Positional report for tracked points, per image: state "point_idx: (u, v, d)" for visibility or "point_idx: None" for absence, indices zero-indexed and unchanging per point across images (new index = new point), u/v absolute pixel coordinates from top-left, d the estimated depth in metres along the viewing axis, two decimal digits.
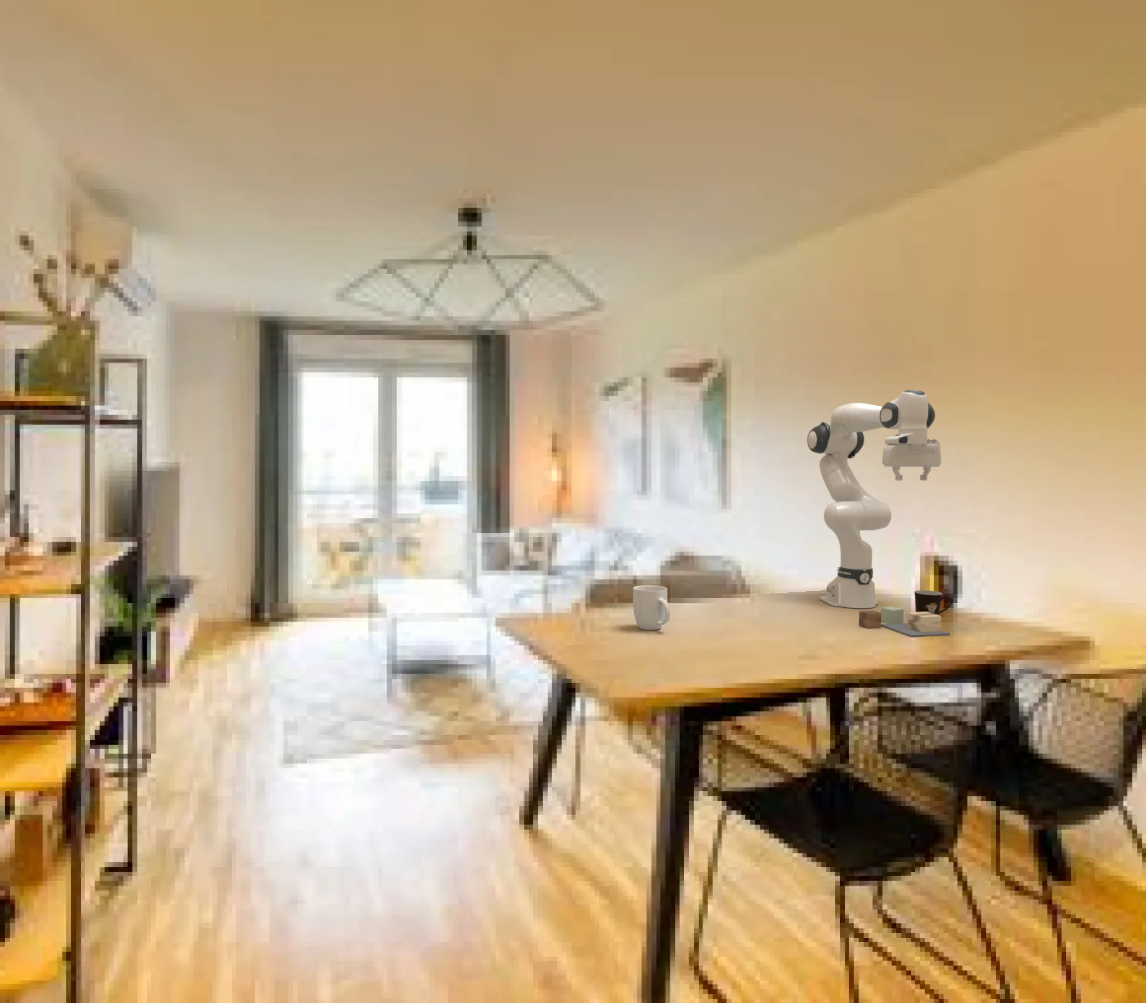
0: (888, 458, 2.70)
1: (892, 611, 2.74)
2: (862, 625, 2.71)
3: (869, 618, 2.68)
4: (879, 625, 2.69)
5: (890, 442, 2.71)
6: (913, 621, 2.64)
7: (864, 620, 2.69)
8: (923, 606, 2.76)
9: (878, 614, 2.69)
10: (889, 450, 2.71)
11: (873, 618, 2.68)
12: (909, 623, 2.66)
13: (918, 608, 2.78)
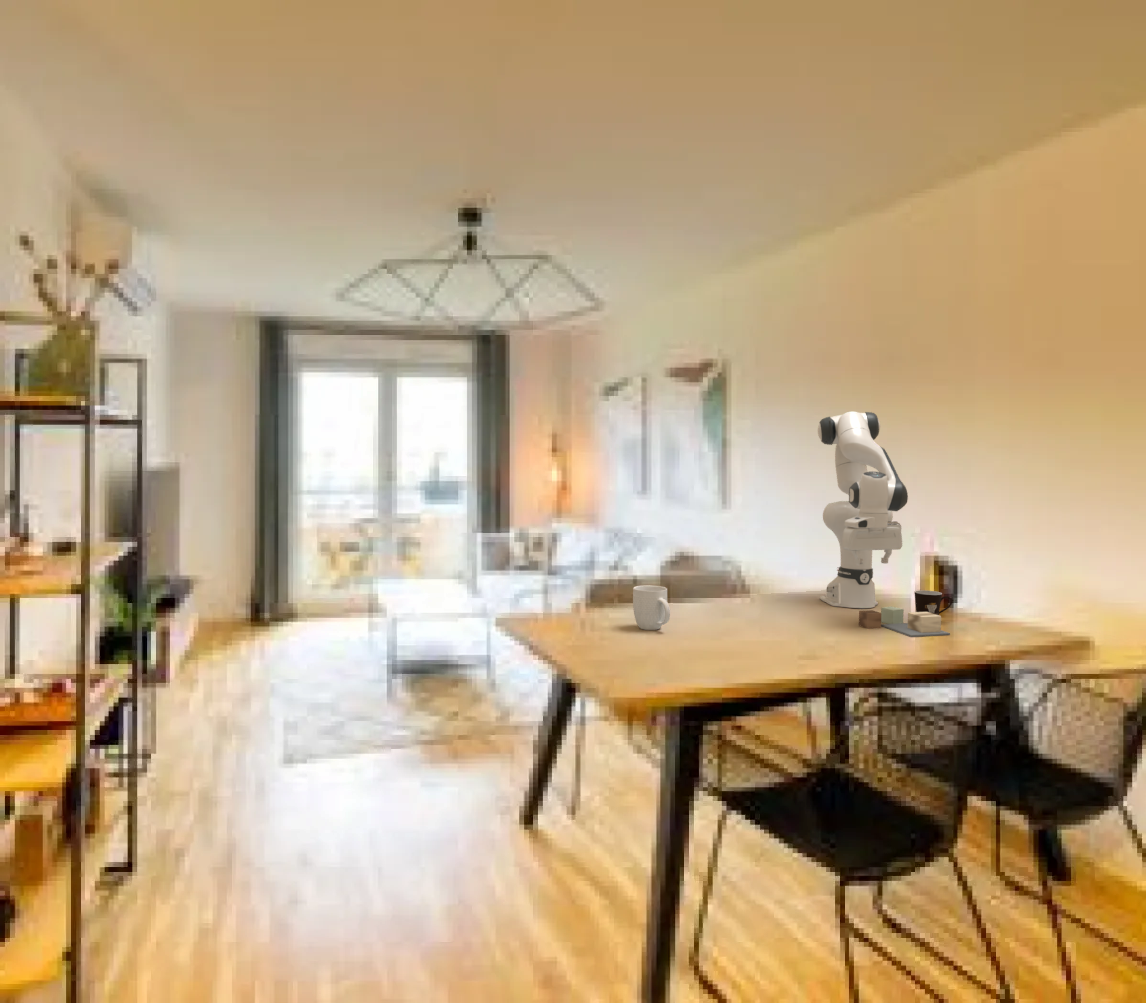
0: (848, 542, 2.65)
1: (892, 611, 2.74)
2: (862, 625, 2.71)
3: (869, 618, 2.68)
4: (879, 625, 2.69)
5: (850, 525, 2.66)
6: (913, 621, 2.64)
7: (864, 620, 2.69)
8: (923, 606, 2.76)
9: (878, 614, 2.69)
10: (849, 534, 2.65)
11: (873, 618, 2.68)
12: (909, 623, 2.66)
13: (918, 608, 2.78)
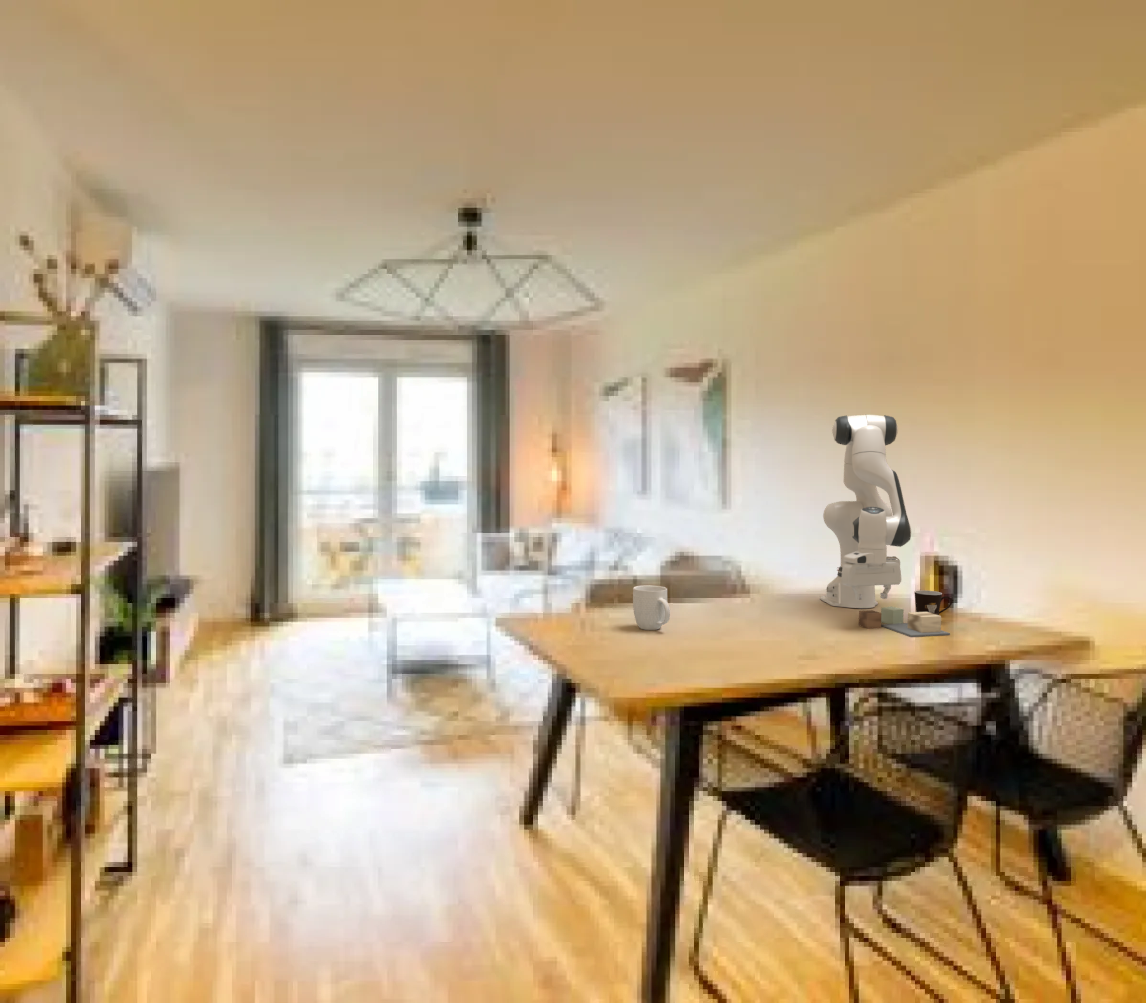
0: (847, 578, 2.66)
1: (892, 611, 2.74)
2: (862, 625, 2.71)
3: (869, 618, 2.68)
4: (879, 625, 2.69)
5: (849, 561, 2.67)
6: (913, 621, 2.64)
7: (864, 620, 2.69)
8: (923, 606, 2.76)
9: (878, 614, 2.69)
10: (848, 569, 2.66)
11: (873, 618, 2.68)
12: (909, 623, 2.66)
13: (918, 608, 2.78)
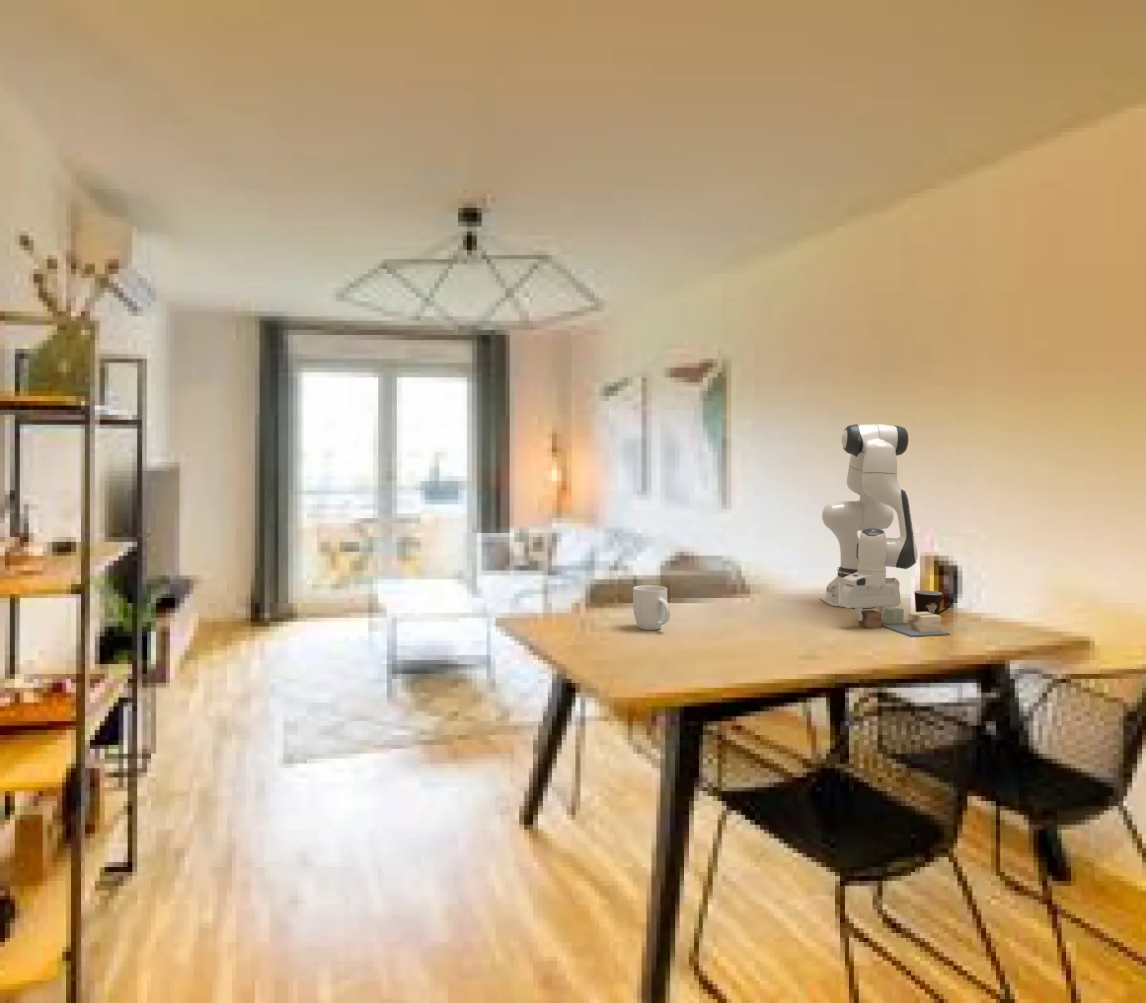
0: (846, 600, 2.66)
1: (892, 611, 2.74)
2: (862, 625, 2.71)
3: (869, 618, 2.68)
4: (879, 625, 2.69)
5: (848, 583, 2.68)
6: (913, 621, 2.64)
7: (865, 620, 2.69)
8: (923, 606, 2.76)
9: (878, 614, 2.69)
10: (847, 591, 2.67)
11: (873, 617, 2.68)
12: (909, 623, 2.66)
13: (918, 608, 2.78)
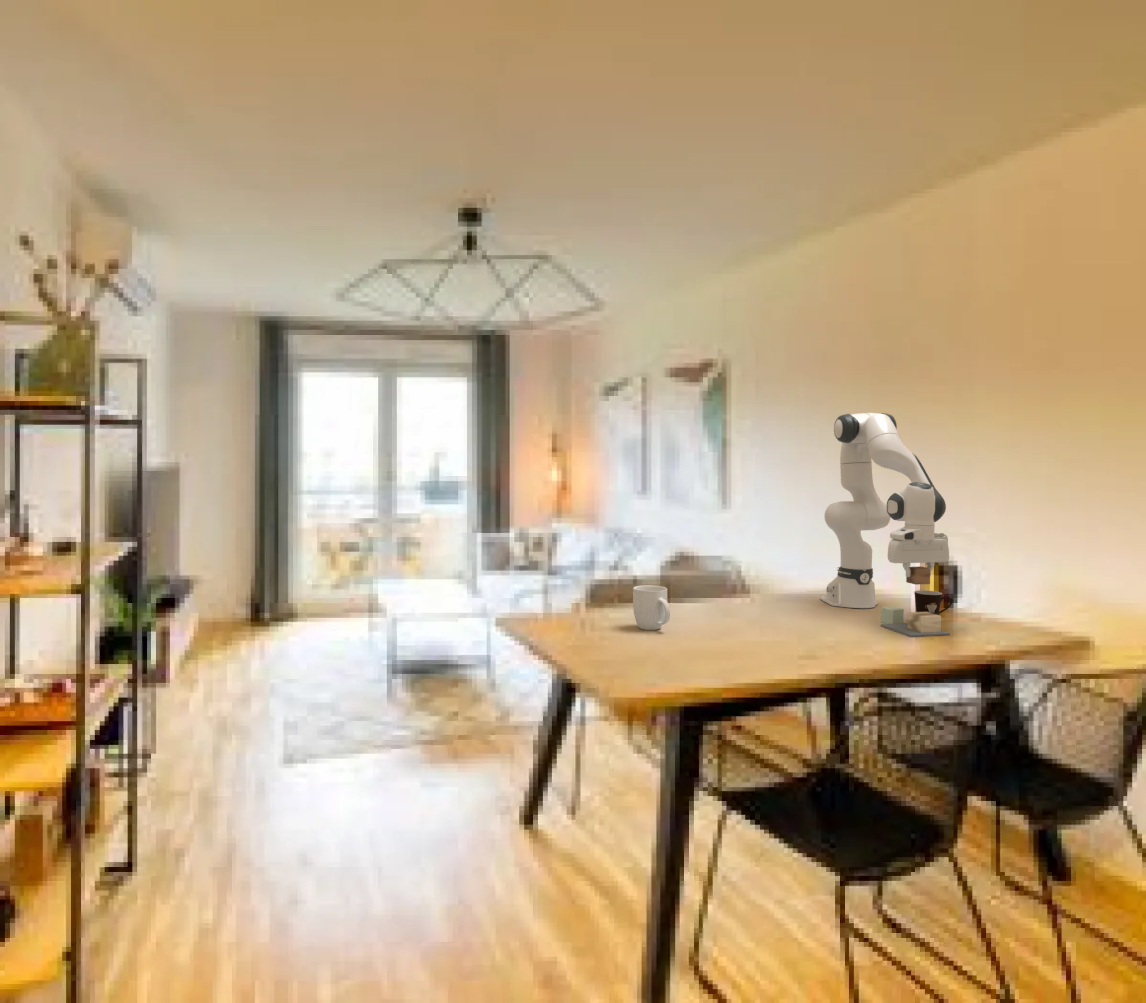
0: (894, 555, 2.59)
1: (892, 611, 2.74)
2: (910, 581, 2.63)
3: (917, 574, 2.61)
4: (928, 581, 2.62)
5: (895, 538, 2.61)
6: (913, 621, 2.64)
7: (913, 576, 2.62)
8: (923, 606, 2.76)
9: (927, 569, 2.61)
10: (894, 546, 2.60)
11: (921, 573, 2.61)
12: (909, 623, 2.66)
13: (918, 608, 2.78)
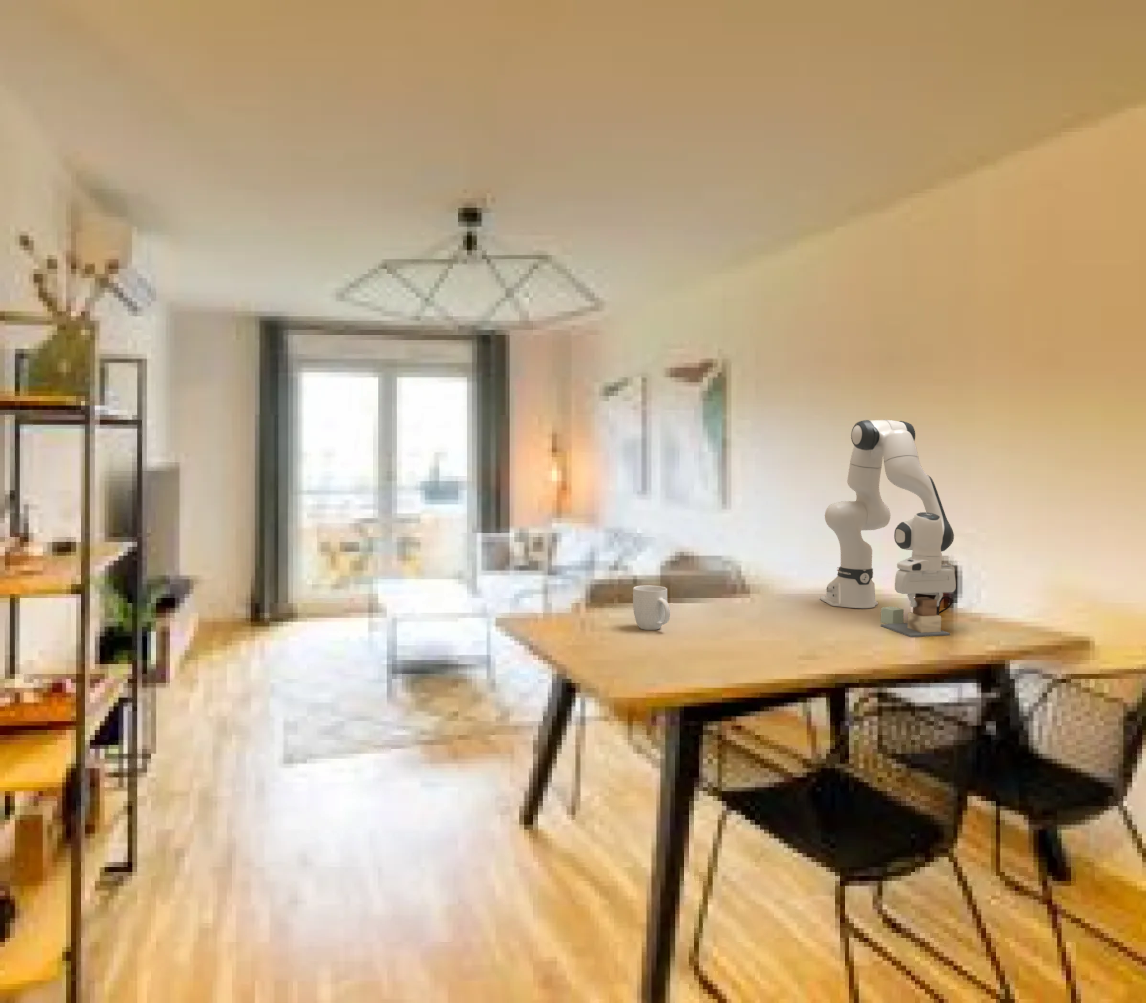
0: (901, 585, 2.59)
1: (892, 611, 2.74)
2: (917, 612, 2.64)
3: (924, 605, 2.61)
4: (934, 612, 2.62)
5: (903, 568, 2.61)
6: (913, 621, 2.64)
7: (919, 607, 2.62)
8: None
9: (933, 601, 2.62)
10: (902, 577, 2.60)
11: (928, 605, 2.61)
12: (909, 623, 2.66)
13: None
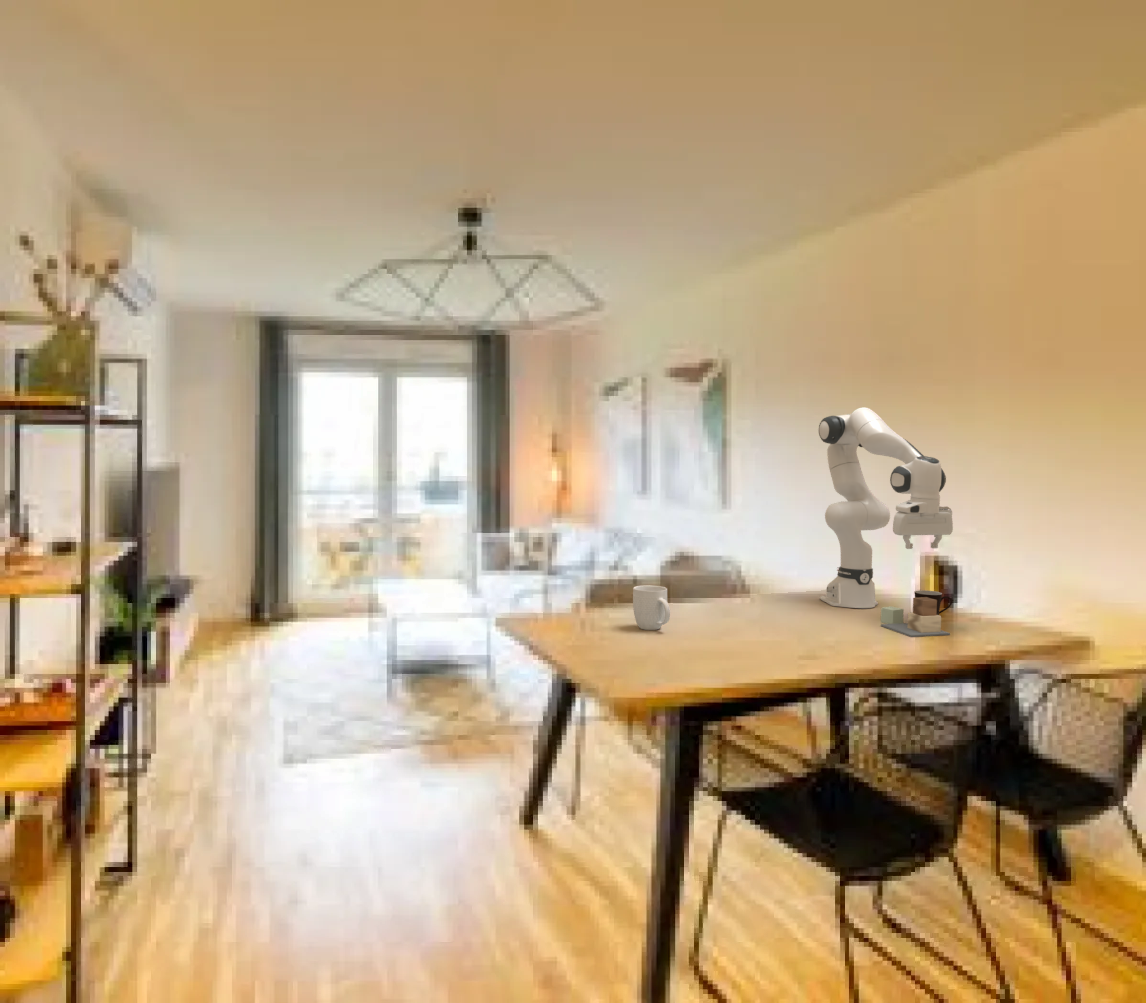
0: (899, 527, 2.65)
1: (892, 611, 2.74)
2: (917, 612, 2.64)
3: (924, 605, 2.61)
4: (934, 612, 2.62)
5: (901, 510, 2.66)
6: (913, 621, 2.64)
7: (919, 607, 2.62)
8: None
9: (933, 601, 2.62)
10: (900, 519, 2.65)
11: (928, 605, 2.61)
12: (909, 623, 2.66)
13: None
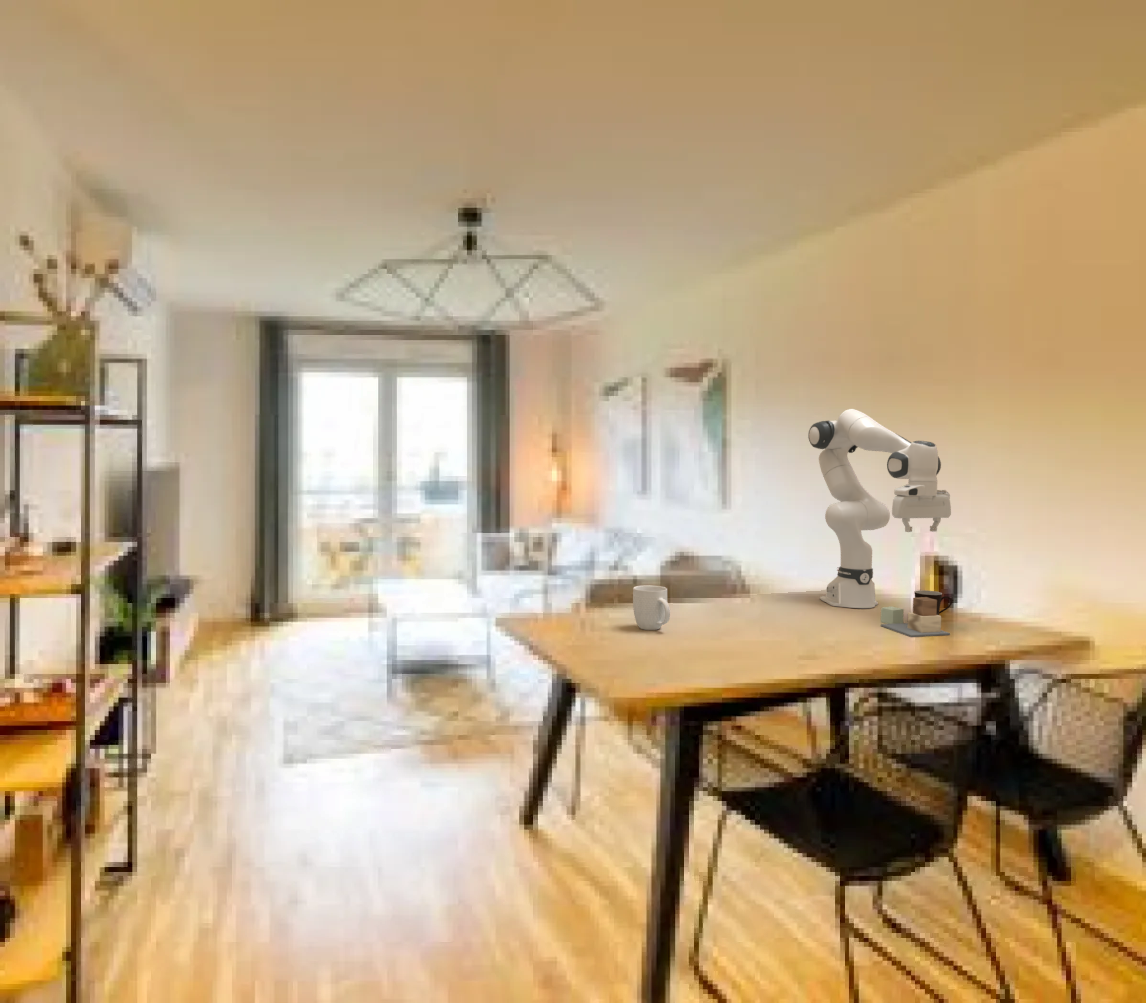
0: (898, 510, 2.69)
1: (892, 611, 2.74)
2: (917, 612, 2.64)
3: (924, 605, 2.61)
4: (934, 612, 2.62)
5: (900, 494, 2.70)
6: (913, 621, 2.64)
7: (919, 607, 2.62)
8: None
9: (933, 601, 2.62)
10: (899, 502, 2.69)
11: (928, 605, 2.61)
12: (909, 623, 2.66)
13: None
